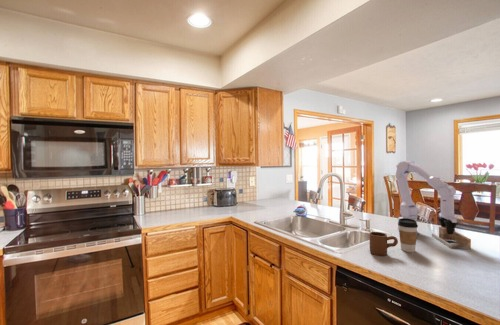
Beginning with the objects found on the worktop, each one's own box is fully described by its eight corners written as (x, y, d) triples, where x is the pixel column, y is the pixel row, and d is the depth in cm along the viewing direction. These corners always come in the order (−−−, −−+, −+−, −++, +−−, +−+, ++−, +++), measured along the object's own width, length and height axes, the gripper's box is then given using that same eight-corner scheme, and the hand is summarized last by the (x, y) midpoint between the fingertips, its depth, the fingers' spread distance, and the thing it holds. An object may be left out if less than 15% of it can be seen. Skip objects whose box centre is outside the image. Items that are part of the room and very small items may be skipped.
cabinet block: (443, 239, 130) (442, 227, 130) (439, 237, 135) (438, 225, 135) (455, 240, 129) (454, 227, 129) (450, 237, 133) (450, 225, 133)
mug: (397, 253, 116) (397, 233, 116) (398, 259, 109) (398, 238, 109) (369, 249, 122) (369, 230, 122) (369, 254, 115) (369, 235, 115)
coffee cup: (416, 248, 122) (415, 218, 122) (420, 254, 114) (419, 223, 114) (397, 246, 126) (396, 217, 125) (399, 251, 118) (399, 221, 118)
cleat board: (449, 247, 122) (449, 238, 122) (431, 236, 140) (431, 227, 140) (470, 249, 119) (470, 239, 119) (450, 237, 138) (450, 228, 138)
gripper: (463, 210, 123) (464, 237, 124) (448, 205, 137) (449, 229, 138) (447, 210, 125) (448, 236, 125) (434, 205, 139) (434, 228, 139)
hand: (447, 232), depth 132 cm, fingers closed on cabinet block, 4 cm apart
